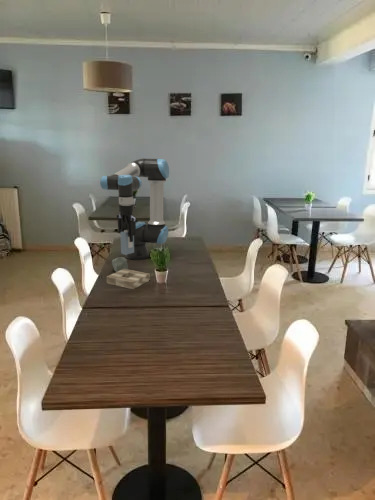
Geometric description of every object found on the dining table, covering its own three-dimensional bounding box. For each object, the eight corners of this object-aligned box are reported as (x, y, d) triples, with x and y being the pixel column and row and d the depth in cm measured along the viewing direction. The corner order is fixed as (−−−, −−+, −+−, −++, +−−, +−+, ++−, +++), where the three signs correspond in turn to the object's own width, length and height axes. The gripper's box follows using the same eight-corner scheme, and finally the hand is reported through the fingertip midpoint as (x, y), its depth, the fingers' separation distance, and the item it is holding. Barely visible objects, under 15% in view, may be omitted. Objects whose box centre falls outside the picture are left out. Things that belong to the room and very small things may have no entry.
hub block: (124, 275, 246) (124, 268, 245) (149, 280, 237) (149, 273, 236) (106, 283, 232) (106, 276, 231) (133, 289, 224) (132, 282, 223)
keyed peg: (121, 253, 229) (120, 230, 226) (129, 251, 234) (128, 228, 230) (125, 254, 227) (125, 231, 223) (134, 252, 231) (133, 230, 228)
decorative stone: (127, 274, 246) (132, 259, 249) (109, 269, 243) (114, 253, 247) (124, 278, 258) (128, 263, 261) (107, 273, 255) (111, 258, 259)
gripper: (110, 203, 225) (112, 245, 232) (131, 207, 215) (132, 251, 221) (120, 201, 231) (122, 242, 237) (142, 205, 220) (143, 248, 227)
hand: (127, 246), depth 229 cm, fingers closed on keyed peg, 4 cm apart
